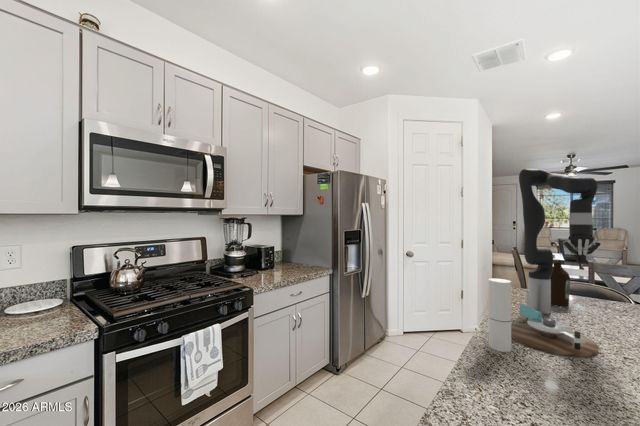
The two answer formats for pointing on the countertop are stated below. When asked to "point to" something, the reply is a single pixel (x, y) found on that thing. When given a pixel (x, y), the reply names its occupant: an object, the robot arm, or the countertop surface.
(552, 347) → the base plate
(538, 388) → the countertop surface
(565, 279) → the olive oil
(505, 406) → the countertop surface
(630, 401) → the countertop surface
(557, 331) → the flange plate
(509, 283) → the cylindrical container
